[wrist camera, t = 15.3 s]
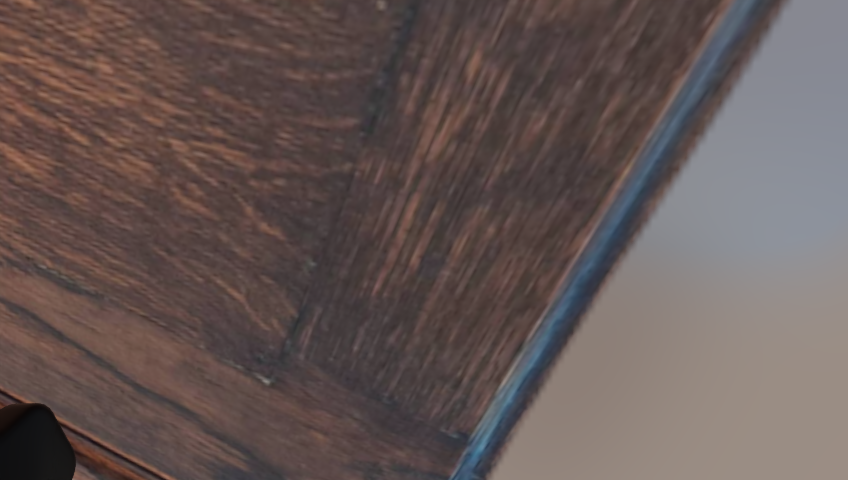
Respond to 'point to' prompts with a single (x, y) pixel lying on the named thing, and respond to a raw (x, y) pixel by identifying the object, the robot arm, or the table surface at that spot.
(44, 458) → the robot arm
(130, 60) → the table surface
